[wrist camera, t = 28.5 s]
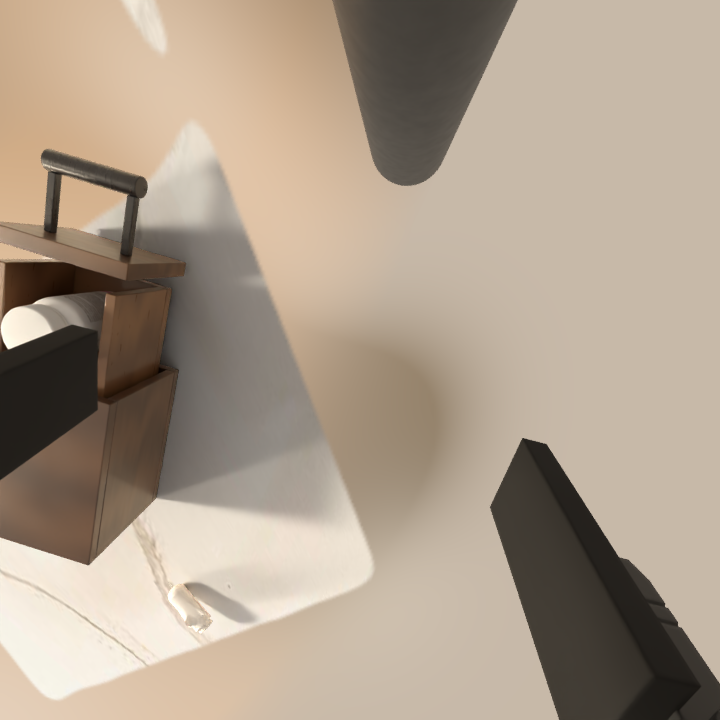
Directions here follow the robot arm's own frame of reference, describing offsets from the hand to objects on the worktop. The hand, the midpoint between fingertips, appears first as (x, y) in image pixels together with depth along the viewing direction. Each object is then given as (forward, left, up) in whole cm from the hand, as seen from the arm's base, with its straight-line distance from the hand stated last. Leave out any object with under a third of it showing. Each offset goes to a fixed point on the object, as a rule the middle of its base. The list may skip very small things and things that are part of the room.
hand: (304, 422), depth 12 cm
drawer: (+4, -21, -23) cm, 32 cm away
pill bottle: (+6, -21, -22) cm, 31 cm away
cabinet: (+17, -21, -24) cm, 37 cm away
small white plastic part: (+35, -9, -24) cm, 44 cm away
